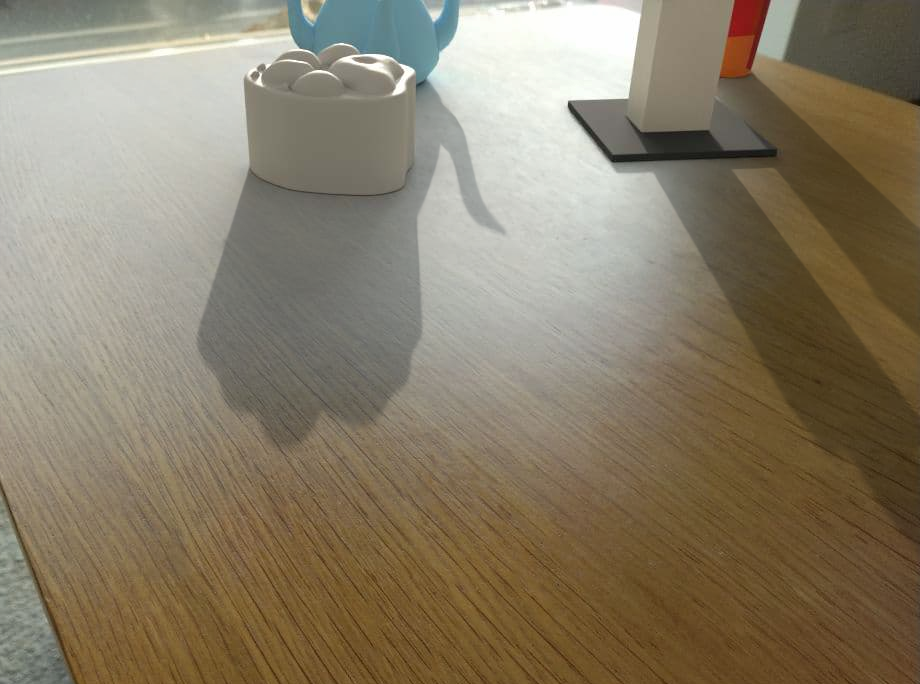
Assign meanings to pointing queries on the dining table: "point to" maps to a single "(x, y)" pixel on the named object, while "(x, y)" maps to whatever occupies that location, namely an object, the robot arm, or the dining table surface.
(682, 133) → the mat
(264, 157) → the lumpy-topped squat cylinder
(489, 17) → the dining table surface
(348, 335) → the dining table surface
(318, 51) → the teapot
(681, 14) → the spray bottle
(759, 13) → the paper cup
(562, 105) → the dining table surface
